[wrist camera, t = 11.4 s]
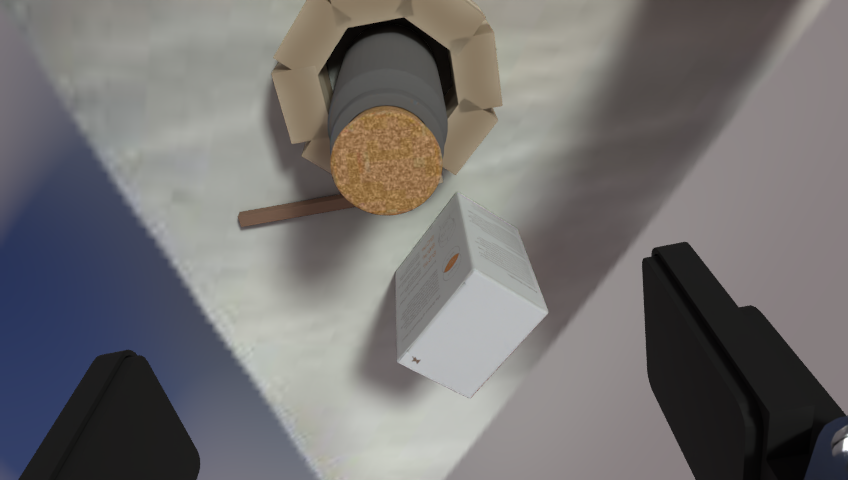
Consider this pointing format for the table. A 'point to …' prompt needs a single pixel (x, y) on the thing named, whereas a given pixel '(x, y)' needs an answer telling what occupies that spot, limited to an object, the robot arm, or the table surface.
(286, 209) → the brown wooden stick
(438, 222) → the small box
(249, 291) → the table surface
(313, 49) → the segmented wooden ring
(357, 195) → the bottle
